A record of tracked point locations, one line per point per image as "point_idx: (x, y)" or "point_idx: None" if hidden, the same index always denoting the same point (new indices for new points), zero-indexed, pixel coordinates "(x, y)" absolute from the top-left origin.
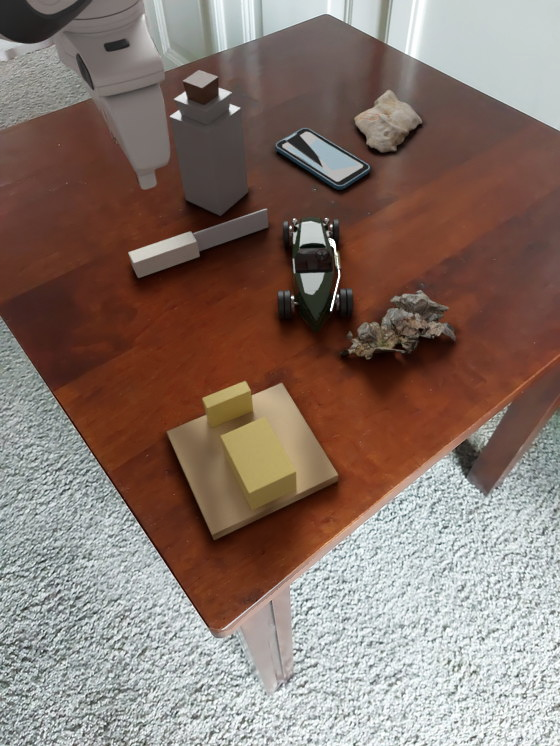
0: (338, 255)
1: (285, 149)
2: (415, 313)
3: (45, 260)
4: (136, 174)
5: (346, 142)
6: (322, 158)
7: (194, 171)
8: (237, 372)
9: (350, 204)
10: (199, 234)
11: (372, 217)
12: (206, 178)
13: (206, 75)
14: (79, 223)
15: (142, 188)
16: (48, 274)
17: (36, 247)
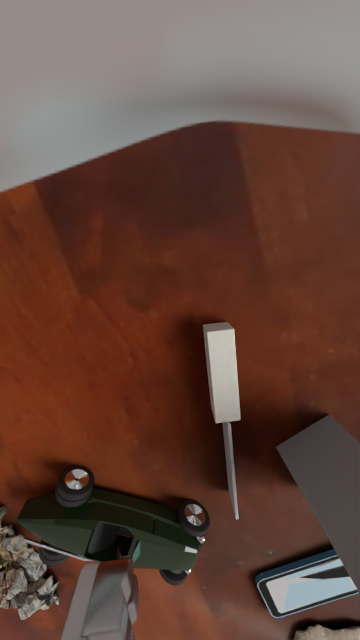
0: None
1: None
2: (18, 596)
3: (298, 196)
4: (94, 622)
5: (336, 604)
6: (316, 581)
7: (343, 474)
8: (7, 403)
9: (227, 576)
10: (227, 430)
11: (196, 589)
12: (319, 484)
13: None
14: (356, 261)
15: (84, 567)
16: (264, 197)
17: (334, 185)
